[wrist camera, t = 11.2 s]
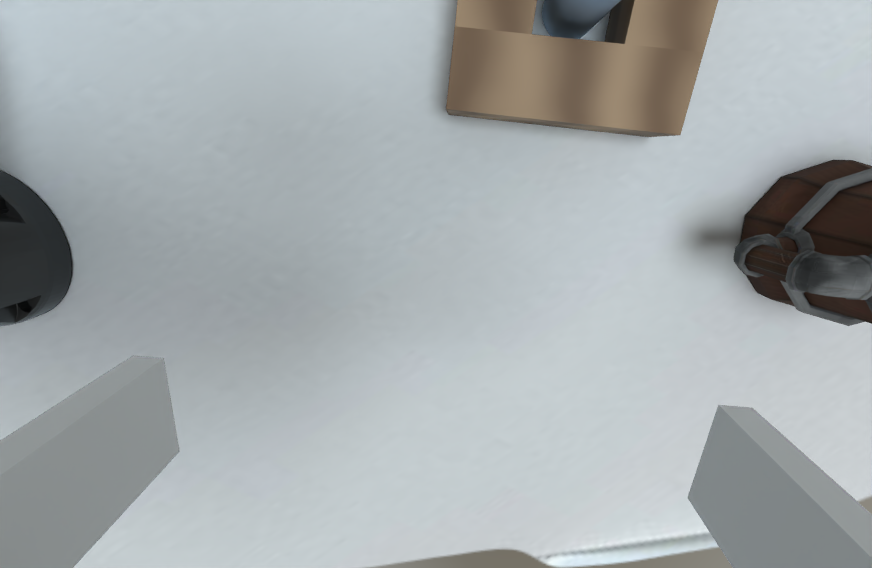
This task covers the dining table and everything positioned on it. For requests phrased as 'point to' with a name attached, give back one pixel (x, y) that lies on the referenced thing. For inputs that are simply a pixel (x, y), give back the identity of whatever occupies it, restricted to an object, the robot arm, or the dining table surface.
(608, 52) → the socket block
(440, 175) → the dining table surface
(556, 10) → the peg
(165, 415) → the robot arm
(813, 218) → the mug
